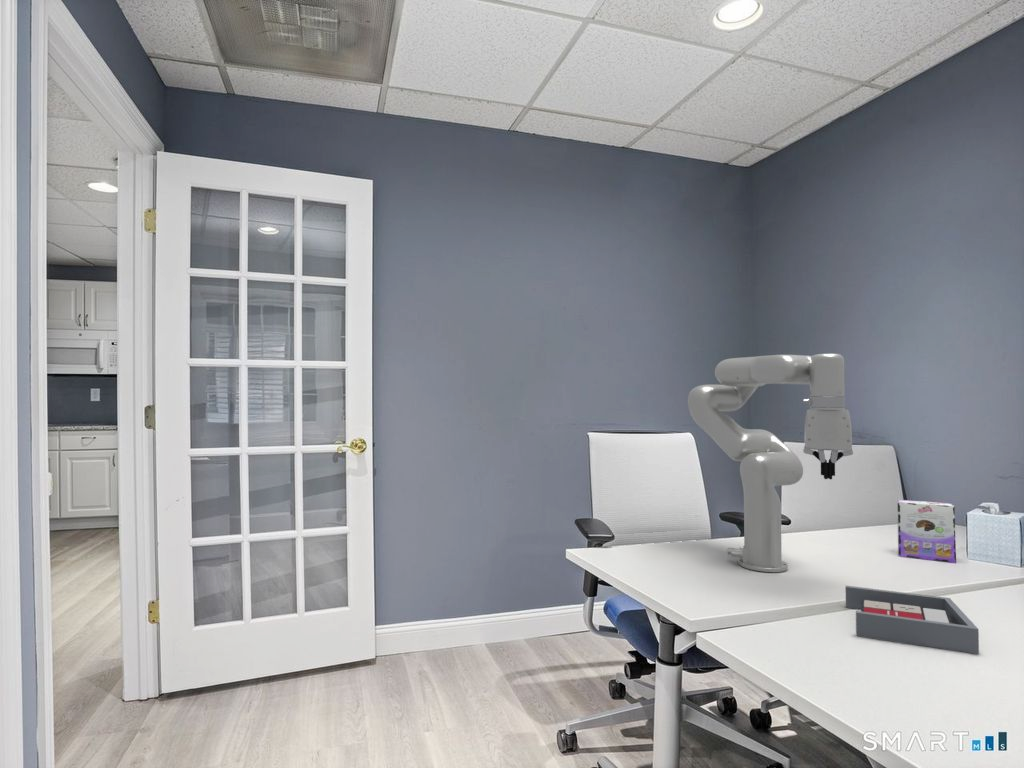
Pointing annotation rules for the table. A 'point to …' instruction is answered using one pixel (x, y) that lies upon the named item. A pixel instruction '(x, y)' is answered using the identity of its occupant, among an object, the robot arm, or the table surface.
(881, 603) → the dark long red-fronted box
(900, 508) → the candy box
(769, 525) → the robot arm
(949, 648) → the box
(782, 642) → the table surface
